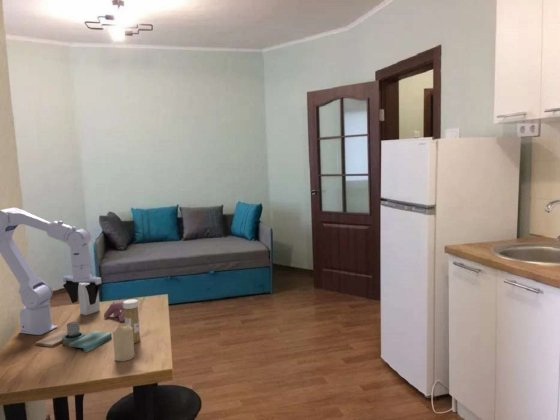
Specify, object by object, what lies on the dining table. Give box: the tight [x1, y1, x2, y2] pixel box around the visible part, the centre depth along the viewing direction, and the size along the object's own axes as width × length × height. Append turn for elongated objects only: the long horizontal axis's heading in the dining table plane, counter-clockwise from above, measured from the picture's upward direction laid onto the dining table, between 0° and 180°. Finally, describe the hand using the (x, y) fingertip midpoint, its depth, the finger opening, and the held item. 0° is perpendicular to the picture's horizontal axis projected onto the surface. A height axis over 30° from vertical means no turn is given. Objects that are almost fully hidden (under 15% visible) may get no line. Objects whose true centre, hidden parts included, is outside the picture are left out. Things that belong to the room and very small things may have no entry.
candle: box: [112, 322, 135, 362], centre depth 136 cm, size 6×6×10 cm
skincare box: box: [78, 283, 101, 316], centre depth 177 cm, size 6×4×12 cm
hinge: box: [34, 329, 113, 353], centre depth 149 cm, size 21×11×2 cm, turn 72°
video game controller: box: [103, 301, 125, 322], centre depth 171 cm, size 10×5×7 cm, turn 60°
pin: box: [66, 321, 81, 339], centre depth 149 cm, size 4×4×6 cm
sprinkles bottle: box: [122, 298, 141, 344], centre depth 147 cm, size 5×5×14 cm
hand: (83, 303), depth 159 cm, fingers open, 7 cm apart
